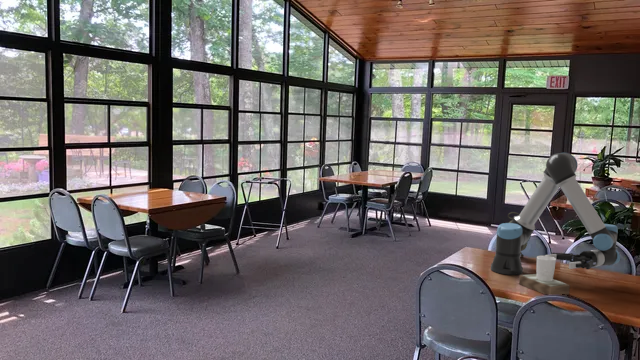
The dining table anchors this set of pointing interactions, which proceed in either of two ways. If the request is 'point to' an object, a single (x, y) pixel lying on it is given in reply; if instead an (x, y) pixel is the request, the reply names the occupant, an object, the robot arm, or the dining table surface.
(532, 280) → the board
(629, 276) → the dining table surface
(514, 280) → the dining table surface
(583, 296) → the dining table surface
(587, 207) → the robot arm
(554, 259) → the white cup
